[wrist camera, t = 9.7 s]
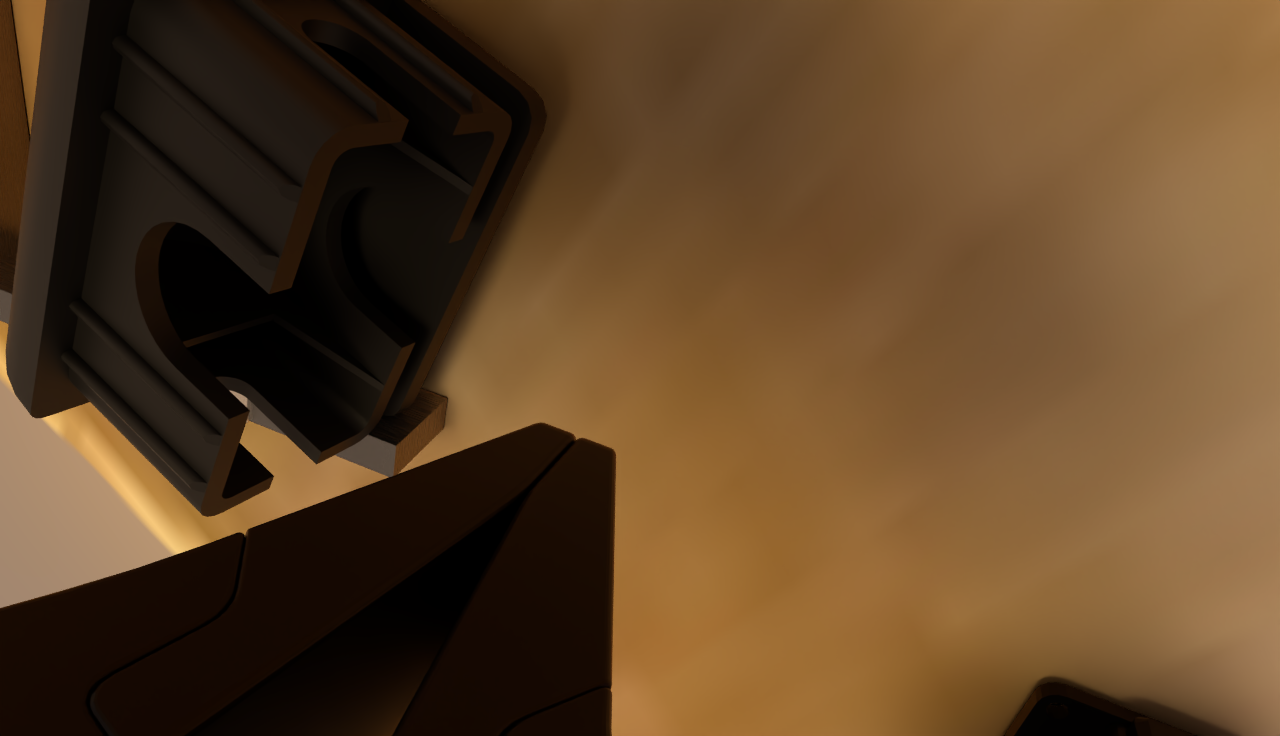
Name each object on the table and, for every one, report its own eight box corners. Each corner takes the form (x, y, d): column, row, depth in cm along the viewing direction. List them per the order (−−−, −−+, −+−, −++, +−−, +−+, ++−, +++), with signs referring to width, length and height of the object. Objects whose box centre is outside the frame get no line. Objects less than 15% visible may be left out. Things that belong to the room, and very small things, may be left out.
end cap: (321, -106, 18) (-34, -177, 13) (569, 84, 17) (294, 100, 11) (220, 261, 24) (-63, 327, 18) (403, 429, 22) (159, 557, 17)
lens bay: (443, 428, 23) (386, 484, 21) (19, 264, 25) (-76, 298, 23) (547, -368, 15) (471, -427, 12) (-100, -510, 17) (-269, -583, 15)
